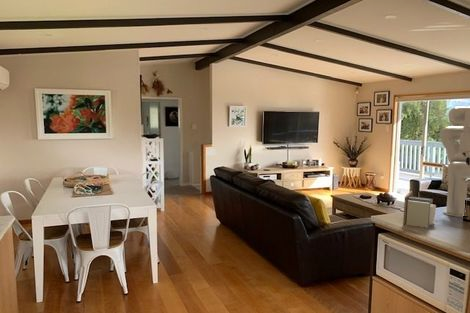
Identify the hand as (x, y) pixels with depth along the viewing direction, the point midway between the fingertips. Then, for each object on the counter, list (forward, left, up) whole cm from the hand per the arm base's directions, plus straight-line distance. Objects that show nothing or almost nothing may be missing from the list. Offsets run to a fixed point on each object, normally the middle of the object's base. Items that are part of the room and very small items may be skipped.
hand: (469, 165), depth 183 cm
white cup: (+9, -17, -32) cm, 38 cm away
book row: (+17, -20, -32) cm, 42 cm away
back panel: (+10, -26, -32) cm, 43 cm away
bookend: (+1, -21, -32) cm, 38 cm away
